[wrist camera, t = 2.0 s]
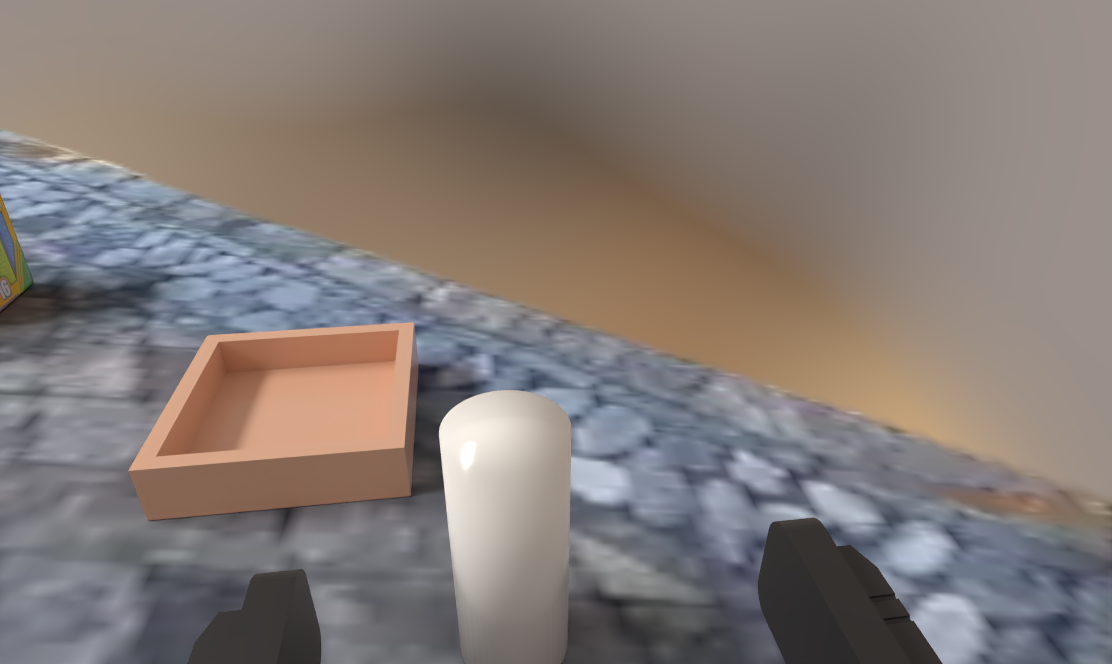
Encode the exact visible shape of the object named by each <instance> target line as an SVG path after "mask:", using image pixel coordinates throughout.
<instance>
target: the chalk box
mask: <svg viewBox="0 0 1112 664" xmlns="http://www.w3.org/2000/svg"><path fill="white" fill-rule="evenodd" d="M33 283H34V282H33V279H32V276H31V274H30V271H29V268H28V265H27V263H26V260H25V257H24V255H23V252H22V249H21V247H20V244H19V242H18V239H17V236H16V234H15V231H14V229H13V226H12V223H11V220H10V218H9V215H8V213H7V210H6V208H5V205H4V203H3V200H2V198H1V195H0V311H2V310H3V309H4V308H5V307H6V306H7V305H8V304H10V303H11V302H12V301H13V300H14V299H15V298H17V297H18V296H19V295H20V294H21V293H22V292H23V291H25V290H26V289H27V288H28V287H29V286H30V285H32V284H33Z"/></svg>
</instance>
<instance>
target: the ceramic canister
mask: <svg viewBox="0 0 1112 664" xmlns="http://www.w3.org/2000/svg"><path fill="white" fill-rule="evenodd" d="M439 440H440V450H441V459H442V469H443V479H444V489H445V498H446V508H447V518H448V528H449V537H450V547H451V557H452V567H453V576H454V586H455V596H456V606H457V615H458V625H459V635H460V645H461V654H462V658H463V661H464V663H465V664H561V663H562V661H563V660H564V657H565V654H566V651H567V644H568V591H569V530H570V469H571V423H570V420H569V417H568V416H567V414H566V412H565V411H564V410H563V409H562V408H561V407H560V406H559V405H558V404H556V403H555V402H553V401H552V400H550V399H548V398H546V397H543V396H541V395H538V394H534V393H530V392H525V391H515V390H503V391H493V392H488V393H483V394H480V395H476V396H474V397H471V398H469V399H467V400H464V401H463V402H461V403H459V404H458V405H456V406H455V407H454V408H452V409H451V410H450V411H449V412H448V413H447V414H446V416H445V417H444V419H443V420H442V422H441V425H440V428H439Z"/></svg>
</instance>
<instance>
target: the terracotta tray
mask: <svg viewBox="0 0 1112 664" xmlns="http://www.w3.org/2000/svg"><path fill="white" fill-rule="evenodd" d="M418 368H419V361H418V353H417V344H416V335H415V326H414V322H411V323H395V324H380V325H364V326H348V327H333V328H317V329H301V330H286V331H270V332H254V333H239V334H223V335H207V337H206V339H205V341H204V342H203V344H202V346H201V347H200V349H199V351H198V352H197V354H196V356H195V358H194V359H193V361H192V363H191V364H190V366H189V368H188V370H187V371H186V373H185V375H184V376H183V378H182V380H181V382H180V383H179V385H178V387H177V388H176V390H175V392H174V394H173V395H172V397H171V399H170V400H169V402H168V404H167V406H166V407H165V409H164V411H163V412H162V414H161V416H160V417H159V419H158V421H157V423H156V424H155V426H154V428H153V429H152V431H151V433H150V435H149V436H148V438H147V440H146V441H145V443H144V445H143V447H142V448H141V450H140V452H139V453H138V455H137V457H136V459H135V460H134V462H133V464H132V465H131V467H130V469H129V474H130V477H131V479H132V482H133V484H134V487H135V489H136V492H137V494H138V497H139V499H140V502H141V504H142V507H143V509H144V512H145V514H146V517H147V520H148V521H149V520H160V519H170V518H181V517H192V516H203V515H213V514H224V513H235V512H246V511H256V510H267V509H278V508H288V507H299V506H310V505H321V504H331V503H342V502H353V501H364V500H374V499H385V498H396V497H407V496H411V486H412V469H413V452H414V435H415V419H416V402H417V385H418Z"/></svg>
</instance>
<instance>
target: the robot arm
mask: <svg viewBox="0 0 1112 664" xmlns="http://www.w3.org/2000/svg"><path fill="white" fill-rule="evenodd" d="M758 594H759V600H760V605H761V608H762V612H763V614H764V617H765V619H766V621H767V623H768V626H769V628H770V630H771V632H772V634H773V636H774V638H775V641H776V643H777V645H778V647H779V649H780V651H781V653H782V656H783V658H784V660H785V662H786V664H942V662H941V661H940V659H939V658H938V656H937V655H936V653H935V652H934V650H933V649H932V647H931V646H930V644H929V643H928V642H927V640H926V639H925V637H924V636H923V634H922V633H921V631H920V630H919V628H918V627H917V625H916V624H915V622H914V621H911V620H910V615H909V614H908V612H907V611H906V609H905V608H904V606H903V605H902V603H901V602H900V600H899V599H896V598H895V593H894V591H893V590H892V588H891V587H890V586H889V584H888V583H887V581H886V580H885V578H884V577H883V575H882V574H881V572H880V571H879V569H878V568H877V567H876V566H875V565H874V564H873V563H871V562H870V561H869V560H868V559H867V558H865V557H864V556H863V555H862V554H860V553H859V552H858V551H857V550H856V549H854V548H853V547H852V546H851V545H847V546H838V547H837V546H836V544H835V543H834V541H833V540H832V538H831V537H830V535H829V533H828V532H827V530H826V529H825V527H824V526H823V524H822V523H821V522H820V521H819V520H818V519H816V518H806V519H796V520H786V521H777V522H773V523H772V524H771V525H770V527H769V531H768V536H767V541H766V545H765V550H764V555H763V560H762V564H761V569H760V574H759V579H758ZM320 662H321V635H320V628H319V624H318V620H317V616H316V612H315V608H314V604H313V600H312V596H311V592H310V589H309V585H308V581H307V577H306V574H305V572H304V570H302V569H299V570H289V571H279V572H270V573H260V574H255V575H254V576H253V577H252V579H251V581H250V584H249V587H248V590H247V594H246V597H245V600H244V604H243V607H242V610H237V611H228V612H219V613H218V614H217V615H216V617H215V618H214V619H213V620H212V622H211V623H210V624H209V626H208V627H207V628H206V629H205V631H204V632H203V633H202V634H201V636H200V637H199V638H198V640H197V641H196V642H195V644H194V647H193V650H192V653H191V655H190V658H189V661H188V664H320Z"/></svg>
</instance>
